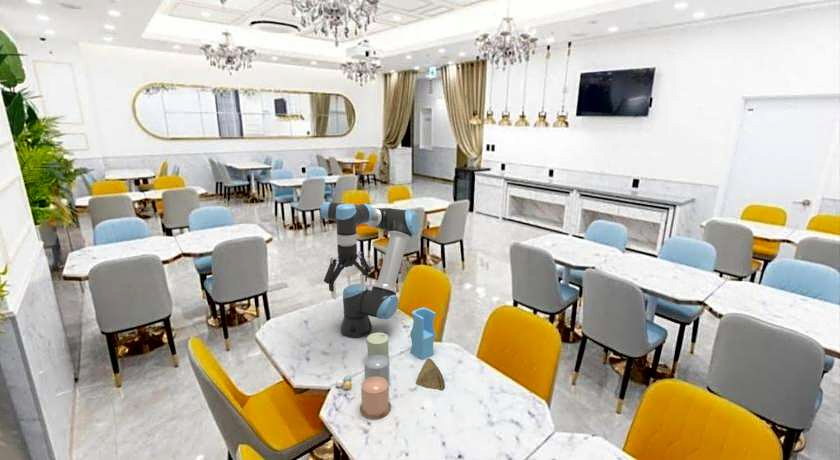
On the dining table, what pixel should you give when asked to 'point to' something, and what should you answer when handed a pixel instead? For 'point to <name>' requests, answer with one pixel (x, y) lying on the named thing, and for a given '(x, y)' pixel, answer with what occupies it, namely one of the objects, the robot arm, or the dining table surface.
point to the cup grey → (377, 367)
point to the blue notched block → (422, 333)
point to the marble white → (339, 383)
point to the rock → (430, 376)
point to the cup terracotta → (375, 396)
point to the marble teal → (347, 378)
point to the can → (378, 344)
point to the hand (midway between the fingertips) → (348, 293)
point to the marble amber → (347, 385)
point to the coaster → (375, 416)
